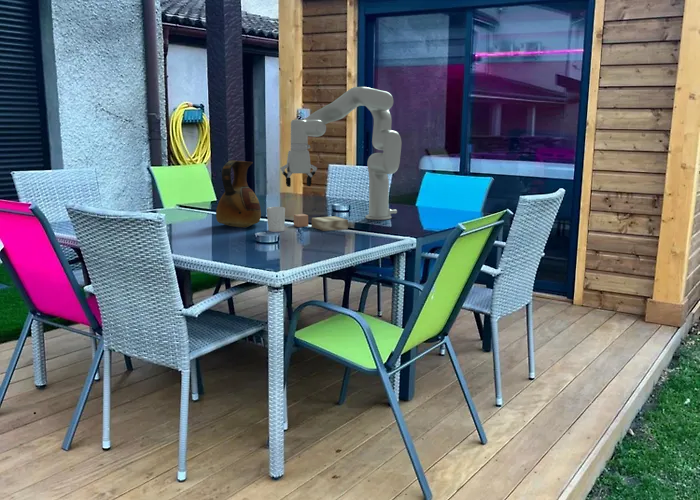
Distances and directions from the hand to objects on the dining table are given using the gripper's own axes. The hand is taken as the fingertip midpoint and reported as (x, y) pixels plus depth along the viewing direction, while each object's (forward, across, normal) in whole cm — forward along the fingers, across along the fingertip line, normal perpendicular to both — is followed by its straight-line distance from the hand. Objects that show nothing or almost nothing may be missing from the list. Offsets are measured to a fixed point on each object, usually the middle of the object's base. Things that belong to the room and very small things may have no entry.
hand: (298, 186), depth 303 cm
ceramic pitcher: (+19, +25, -8) cm, 33 cm away
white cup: (+18, +14, +8) cm, 24 cm away
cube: (+18, -1, 0) cm, 18 cm away
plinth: (+18, -11, +11) cm, 23 cm away
